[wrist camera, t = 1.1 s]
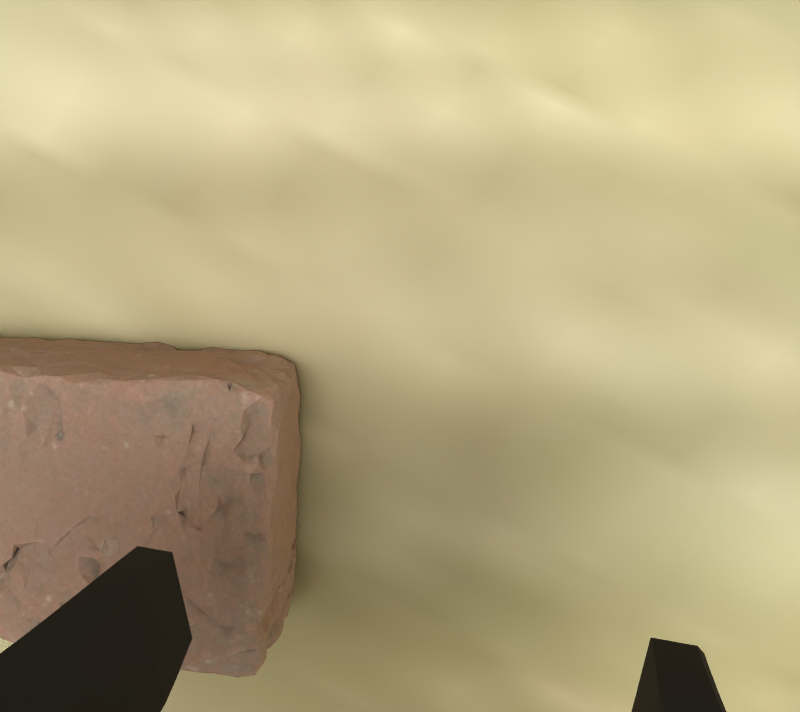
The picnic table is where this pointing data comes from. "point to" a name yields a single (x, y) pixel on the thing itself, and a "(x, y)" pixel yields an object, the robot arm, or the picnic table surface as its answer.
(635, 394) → the picnic table surface
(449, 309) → the picnic table surface
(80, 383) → the brown faceted rock
